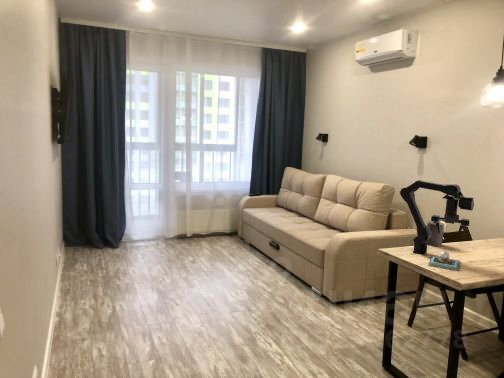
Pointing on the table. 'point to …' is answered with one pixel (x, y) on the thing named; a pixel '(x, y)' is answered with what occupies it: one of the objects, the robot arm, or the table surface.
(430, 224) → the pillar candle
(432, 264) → the carrier plate
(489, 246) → the table surface
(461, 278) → the table surface
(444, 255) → the planet gear
